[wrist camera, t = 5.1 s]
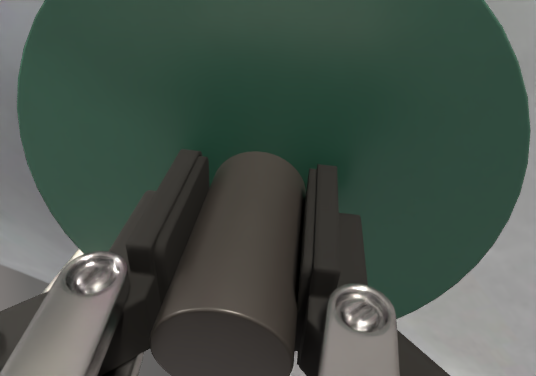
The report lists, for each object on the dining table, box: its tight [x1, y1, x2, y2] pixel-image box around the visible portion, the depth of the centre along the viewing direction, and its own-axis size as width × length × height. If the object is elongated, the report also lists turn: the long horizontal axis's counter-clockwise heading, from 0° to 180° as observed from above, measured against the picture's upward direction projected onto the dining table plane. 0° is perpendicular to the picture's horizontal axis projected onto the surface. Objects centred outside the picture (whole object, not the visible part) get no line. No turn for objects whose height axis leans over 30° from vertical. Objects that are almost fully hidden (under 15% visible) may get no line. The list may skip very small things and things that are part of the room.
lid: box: [17, 0, 530, 376], centre depth 11 cm, size 15×15×7 cm
